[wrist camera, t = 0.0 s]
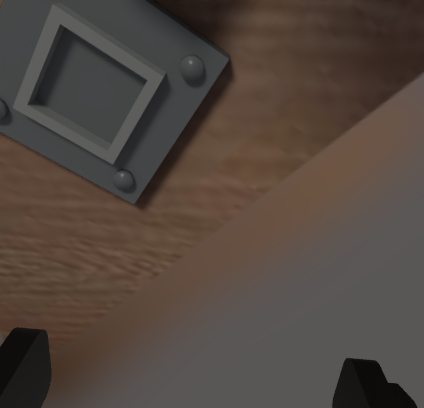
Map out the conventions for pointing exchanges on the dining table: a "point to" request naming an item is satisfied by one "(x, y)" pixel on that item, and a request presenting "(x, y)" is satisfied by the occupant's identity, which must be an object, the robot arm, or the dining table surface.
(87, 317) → the dining table surface
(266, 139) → the dining table surface
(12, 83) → the baseplate
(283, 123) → the dining table surface
